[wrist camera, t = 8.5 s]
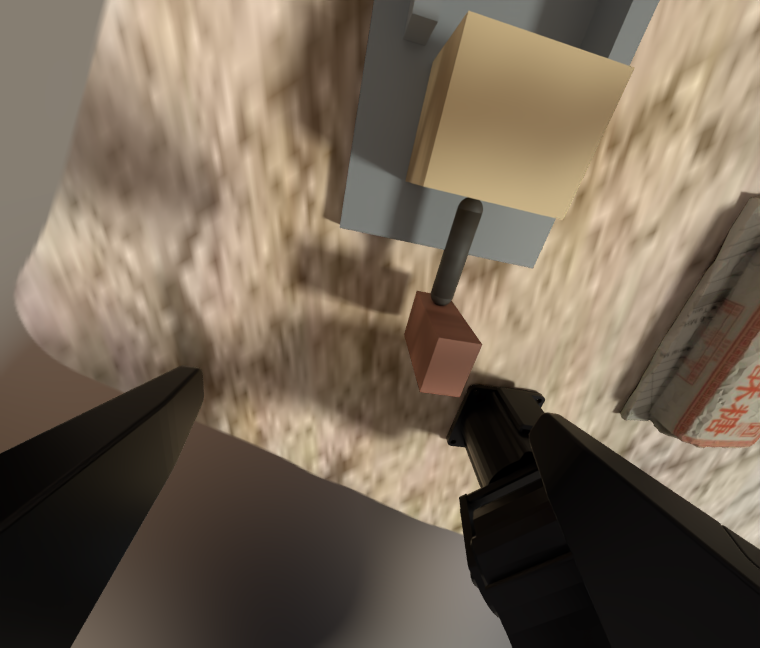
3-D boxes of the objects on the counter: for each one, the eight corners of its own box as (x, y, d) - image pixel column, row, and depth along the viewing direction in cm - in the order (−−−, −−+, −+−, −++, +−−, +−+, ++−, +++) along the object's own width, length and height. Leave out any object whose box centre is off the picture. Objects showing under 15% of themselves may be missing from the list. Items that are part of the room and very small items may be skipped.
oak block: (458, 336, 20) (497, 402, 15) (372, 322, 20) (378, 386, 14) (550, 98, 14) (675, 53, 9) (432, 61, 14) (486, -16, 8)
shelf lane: (524, 263, 19) (567, 288, 15) (340, 224, 18) (335, 241, 14) (764, -279, 11) (1007, -546, 7) (446, -469, 9) (518, -998, 5)
